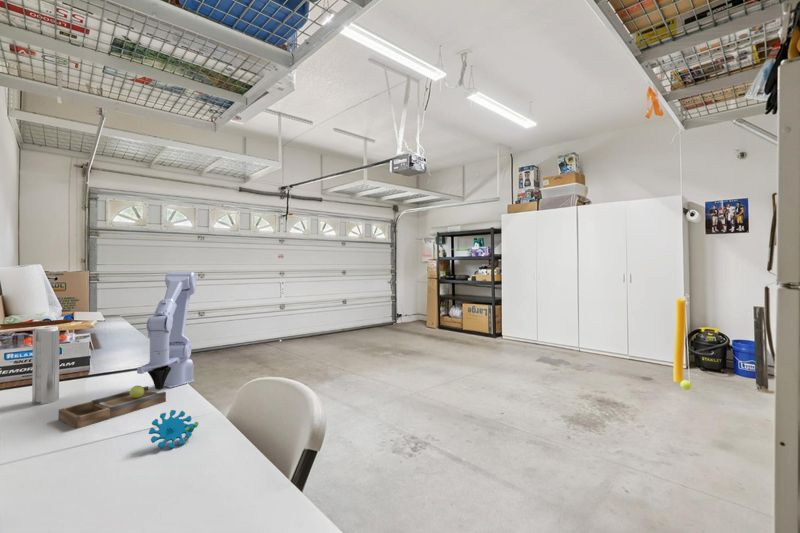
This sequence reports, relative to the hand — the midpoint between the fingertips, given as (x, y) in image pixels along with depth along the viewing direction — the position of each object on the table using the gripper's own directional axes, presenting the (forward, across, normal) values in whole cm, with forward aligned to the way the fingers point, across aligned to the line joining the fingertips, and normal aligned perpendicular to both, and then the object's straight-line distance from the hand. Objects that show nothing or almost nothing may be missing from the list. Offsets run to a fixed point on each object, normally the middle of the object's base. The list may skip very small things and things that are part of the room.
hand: (159, 388), depth 127 cm
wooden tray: (+3, +13, -3) cm, 13 cm away
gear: (+3, +24, +34) cm, 41 cm away
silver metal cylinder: (+3, +14, -33) cm, 36 cm away
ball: (-1, +7, -2) cm, 7 cm away
